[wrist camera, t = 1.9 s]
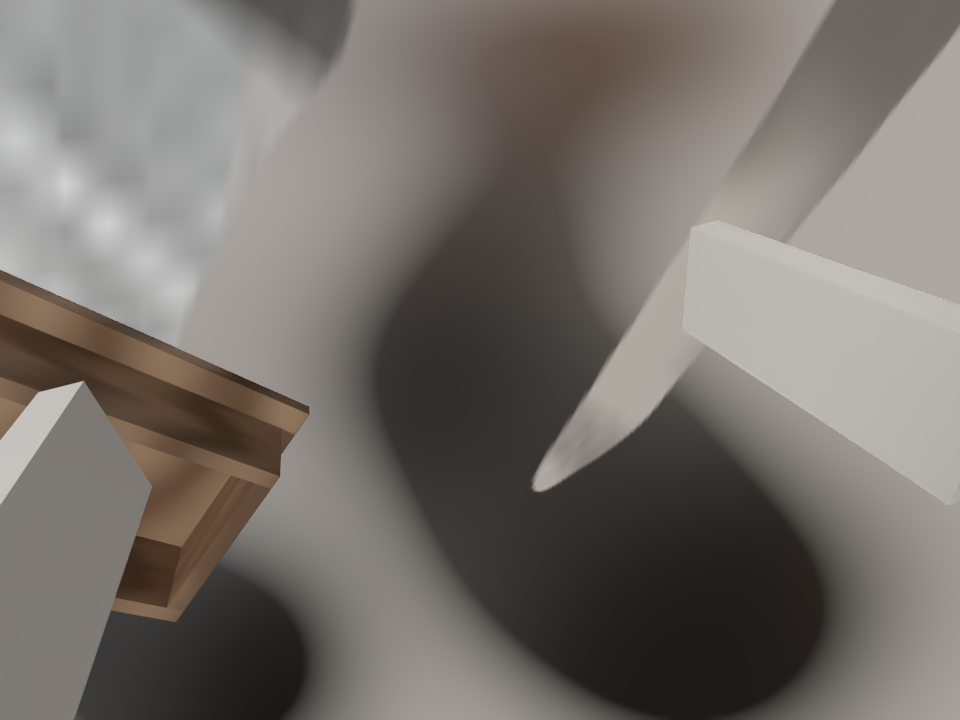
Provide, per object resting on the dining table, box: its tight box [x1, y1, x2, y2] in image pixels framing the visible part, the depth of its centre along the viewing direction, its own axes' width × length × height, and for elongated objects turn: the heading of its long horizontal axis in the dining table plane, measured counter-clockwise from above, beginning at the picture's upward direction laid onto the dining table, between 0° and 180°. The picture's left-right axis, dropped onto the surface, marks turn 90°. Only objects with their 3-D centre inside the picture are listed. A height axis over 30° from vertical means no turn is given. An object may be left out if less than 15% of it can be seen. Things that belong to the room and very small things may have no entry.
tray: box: [0, 271, 309, 622], centre depth 28 cm, size 25×16×6 cm, turn 52°
